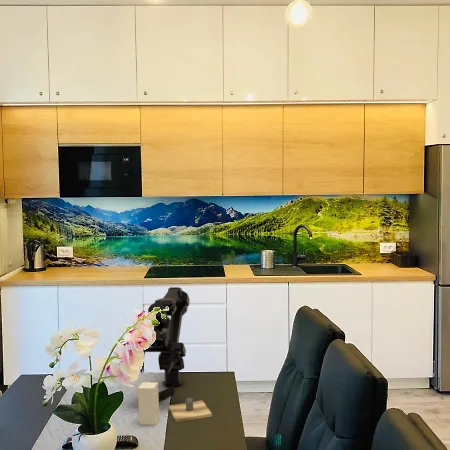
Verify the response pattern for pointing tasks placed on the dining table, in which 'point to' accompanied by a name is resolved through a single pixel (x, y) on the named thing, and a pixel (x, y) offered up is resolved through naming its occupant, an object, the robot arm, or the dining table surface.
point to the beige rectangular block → (148, 403)
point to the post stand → (189, 410)
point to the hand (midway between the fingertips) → (154, 372)
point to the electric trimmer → (166, 393)
